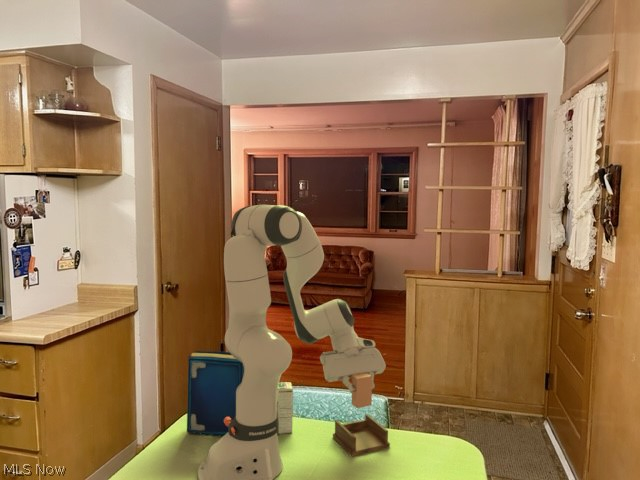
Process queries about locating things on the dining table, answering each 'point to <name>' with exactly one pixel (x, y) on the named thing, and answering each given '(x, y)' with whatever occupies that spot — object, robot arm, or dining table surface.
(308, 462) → the dining table surface
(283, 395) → the syrup box
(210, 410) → the book
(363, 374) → the terracotta block
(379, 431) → the walnut slot rack
